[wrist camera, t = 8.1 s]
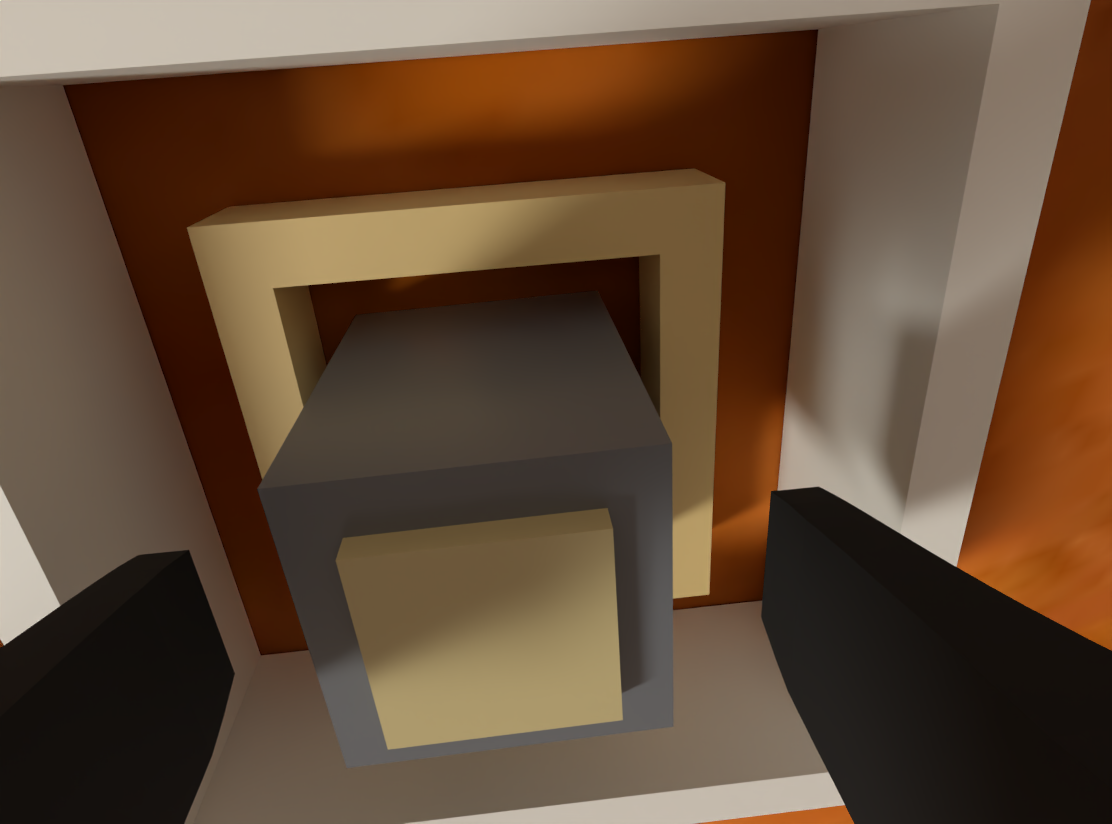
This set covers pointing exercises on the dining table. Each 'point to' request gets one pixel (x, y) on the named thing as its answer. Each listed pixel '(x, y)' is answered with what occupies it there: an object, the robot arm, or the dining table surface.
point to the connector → (480, 531)
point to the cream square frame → (513, 241)
